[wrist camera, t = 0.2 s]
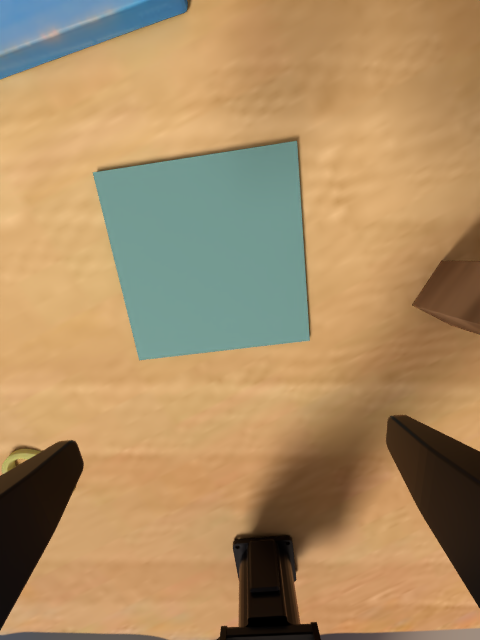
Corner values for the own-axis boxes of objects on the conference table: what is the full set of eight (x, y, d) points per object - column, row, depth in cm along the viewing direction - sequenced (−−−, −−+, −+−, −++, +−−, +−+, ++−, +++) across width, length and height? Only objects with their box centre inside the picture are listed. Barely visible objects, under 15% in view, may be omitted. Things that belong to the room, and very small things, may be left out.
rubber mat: (308, 339, 21) (309, 340, 21) (141, 358, 22) (139, 360, 22) (295, 143, 18) (296, 140, 17) (95, 174, 18) (92, 172, 18)
